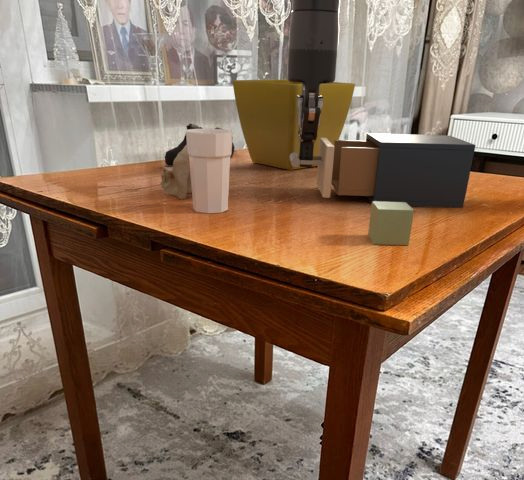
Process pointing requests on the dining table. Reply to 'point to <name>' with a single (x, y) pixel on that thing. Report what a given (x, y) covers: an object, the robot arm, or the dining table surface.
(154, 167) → the dining table surface
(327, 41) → the robot arm
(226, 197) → the cup
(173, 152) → the game controller
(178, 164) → the beige rough lump
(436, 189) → the cabinet
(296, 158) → the drawer
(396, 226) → the block
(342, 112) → the flower pot
